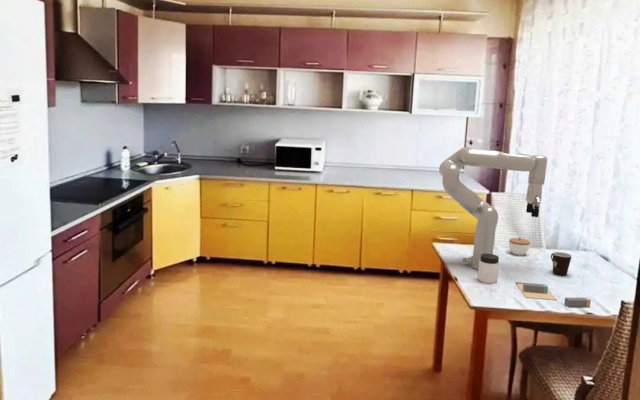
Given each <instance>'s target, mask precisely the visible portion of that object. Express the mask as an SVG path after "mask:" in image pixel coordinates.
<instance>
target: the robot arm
mask: <svg viewBox="0 0 640 400" xmlns="http://www.w3.org/2000/svg"><path fill="white" fill-rule="evenodd" d="M547 164H548V157H547V156H546V155H539V154H534V155H532V154H526V153H518V154H511V153H506V152H502V151H499V150H493V149H483V148H482V149H480V148H472V147H468V146H464V147H461V148H460V149H459V150H457V151H455V152H454V153H452V155H449V157H447V158H446V159H444V160H443V161H442V162H440V165H439V168H438V170H439V171H438V172H439V174H440V175H441V176H442V180H441V181H442V182H441V183H442V186H443V190H444V191H445V192H446V193H447V195H448V196H450V197H451V198H452V199H453V200H454V201H455V202H456V203H458V205H459V206H461V208H463V209H464V210H465V211H467V212H468V213H469V214H470V215H471V216H473V217H474V218H475V219H476V220H477V223H476V226H475V231H474V240H473V241H474V242H473V251H472V255H471V257H462V261H463V262H466V263H468V266H469V267H470V268H471V269H475V270H478V268H479V260H480V258H481V254H494V246H495V239H496V229H497V225H498V222H499V213H498V211H497V209H496V208H495V207H494V206H492V205H491V204H489V203H488V202H487V201H485V200H484V199H483V198H482V197H480V196H479V195H478V194H477V193H476V192H475V191H473V190H472V189H470V188H468V187H467V186H466V185H465V184H464V183H463V182H461V180H460V174H461V170H462V168H464V167H465V166H469V167H479V168H489V169H498V170H506V171H507V170H508V171H516V172H528V180H527V183H528V185H527V189H526V197H525V201H526V202H527V204H526V211H525V212H526V213H531V215H530V216H531V217H532V218H539V213H540V205H541V203H542V195H543V194H542V193H543V185H545V183H546V181H545V180H546V174H547V173H546V172H547V166H548V165H547Z"/></svg>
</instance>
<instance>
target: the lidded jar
mask: <svg viewBox="0 0 640 400" xmlns="http://www.w3.org/2000/svg"><path fill="white" fill-rule="evenodd" d="M508 244H509V245H508V246H509V250H510V252H511V253H513V255H514V254H515V256H521V257H522V256H525V254H527V253H528V251H529V249H530V244H531V241H530V240H529V239H525V238H523V237H511V238H509V243H508Z"/></svg>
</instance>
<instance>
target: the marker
mask: <svg viewBox="0 0 640 400" xmlns="http://www.w3.org/2000/svg"><path fill="white" fill-rule="evenodd" d="M522 283H523V291H524V292H535V293H547V292H548V290H549V287H548V284H545V285H543V284H544V283H543V284H542V283H534V284H530V282H522Z"/></svg>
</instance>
